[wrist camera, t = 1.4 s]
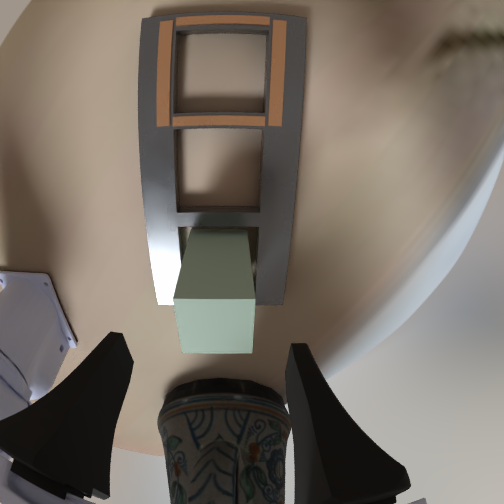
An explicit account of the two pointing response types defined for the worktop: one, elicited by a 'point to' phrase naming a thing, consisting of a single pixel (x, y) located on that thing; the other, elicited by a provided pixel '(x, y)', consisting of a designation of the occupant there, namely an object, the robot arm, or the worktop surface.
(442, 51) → the worktop surface
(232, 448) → the beer stein
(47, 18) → the worktop surface
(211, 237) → the peg
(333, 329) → the worktop surface
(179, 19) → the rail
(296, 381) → the robot arm
